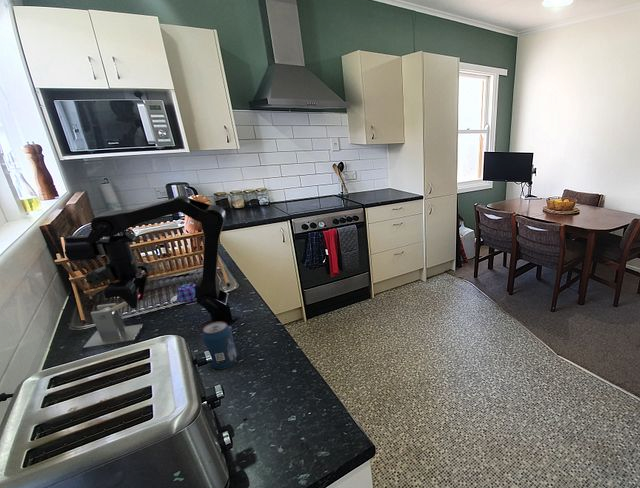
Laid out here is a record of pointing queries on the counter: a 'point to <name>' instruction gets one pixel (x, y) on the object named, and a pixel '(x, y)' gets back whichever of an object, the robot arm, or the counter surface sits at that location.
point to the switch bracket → (111, 328)
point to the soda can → (219, 344)
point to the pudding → (185, 293)
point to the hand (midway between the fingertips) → (137, 304)
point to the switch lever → (118, 306)
